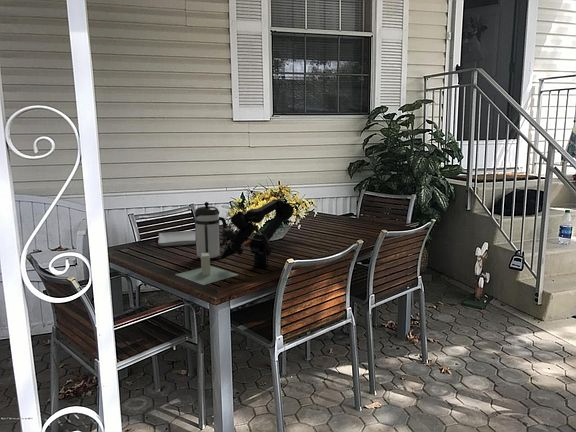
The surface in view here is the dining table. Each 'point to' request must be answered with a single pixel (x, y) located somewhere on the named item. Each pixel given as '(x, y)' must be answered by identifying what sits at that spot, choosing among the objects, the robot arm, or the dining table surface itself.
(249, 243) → the sunglasses case
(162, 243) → the square plate
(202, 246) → the coffee press
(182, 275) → the rubber mat
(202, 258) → the card box
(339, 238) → the dining table surface
